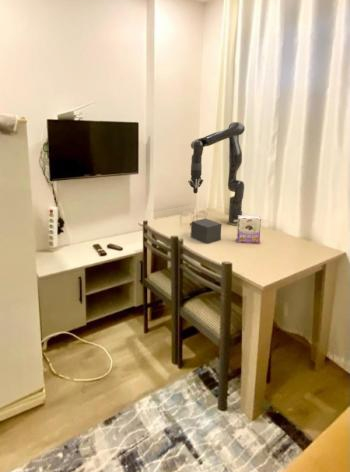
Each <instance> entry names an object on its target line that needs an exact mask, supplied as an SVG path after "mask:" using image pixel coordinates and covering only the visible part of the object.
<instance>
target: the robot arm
mask: <svg viewBox="0 0 350 472" xmlns="http://www.w3.org/2000/svg"><path fill="white" fill-rule="evenodd" d="M245 129H246V128H245V125H244V123H242V122H239V121H232V122H231V123H229V125H228V127H227V128H226V129H223V130H220V131H217V132H213V133H210V134H208V135H205V136H204V137H199V138H196V139H194V140H193V141H191V143H190V148H191V149H192V150H193V153H192V155H191V164H190V180H188V181H187V183H188V184H189V185H190V187H191V188H193V190H192V191H193V194H198V192H199V191H198V190H199V188H200V187H201V186H202V184H203V182H204V179H202V171H203V170H202V168H203V166H202V160H203V159H202V158H203V157H202V156H203V153H204V148H205V147H210V146H212V145H215V144H218V143H219V142H222V141H224V140H227V139H228V141H229V143H228V150H229V151H228V178H227V179H228V181H227V188H228V189H227V190H228V191H229V192H232V193H234V195H232V196H230V197H229V200H228V201H229V203H228V205H229V206H228V221H227V223H228V224H229V225H231V226H238V215H240V216H243V210H242V208H243V199H244V193H245V183H244V182H243V181H242V180H239V179H237V174H238V171H239V169H240V168H241V165H242V163H243V152H242V148H241V144H240V136H241V135H242V134H244V132H245V131H246V130H245Z"/></svg>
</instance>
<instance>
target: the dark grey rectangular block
mask: <svg viewBox="0 0 350 472" xmlns="http://www.w3.org/2000/svg"><path fill="white" fill-rule="evenodd" d="M191 222H192V229H191V228H190V237H191V238H192V239H194V240H197V241H199V242H201V243H204V244H206V245H207V244H211V243H213V242H216V241H217V242H218V241H220V240H221V239H222V223H220V222H217V221H215V220H212V219H209V218H207V217H205V218H201V219H198V220H193V221H191Z"/></svg>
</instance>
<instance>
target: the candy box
mask: <svg viewBox="0 0 350 472" xmlns="http://www.w3.org/2000/svg"><path fill="white" fill-rule="evenodd" d="M261 221H262V218H261V217H260V216H259V215H242V216H240V215H238V225H236V226H237V227H236V242H237V243H242V244H243V243H245V244H260V237H261V224H262V223H261Z"/></svg>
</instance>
